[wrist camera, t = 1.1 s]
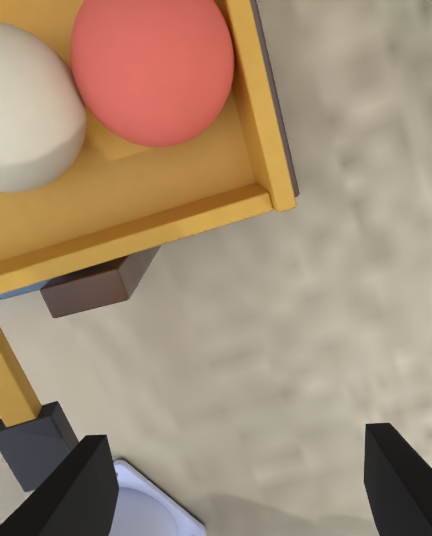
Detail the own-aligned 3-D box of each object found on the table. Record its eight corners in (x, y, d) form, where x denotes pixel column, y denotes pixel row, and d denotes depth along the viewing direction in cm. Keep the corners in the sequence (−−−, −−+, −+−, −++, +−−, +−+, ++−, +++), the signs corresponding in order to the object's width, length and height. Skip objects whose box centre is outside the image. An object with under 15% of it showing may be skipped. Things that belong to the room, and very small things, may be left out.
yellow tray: (193, -97, 11) (201, -216, 7) (305, 352, 16) (346, 423, 12) (-168, 18, 11) (-348, -40, 7) (51, 430, 16) (11, 524, 12)
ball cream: (23, 214, 12) (-1, 236, 8) (-98, 112, 10) (-185, 89, 7) (113, 125, 12) (125, 111, 8) (6, 13, 10) (-30, -58, 7)
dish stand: (232, -98, 15) (224, -346, 7) (297, 192, 19) (342, 254, 11) (31, -19, 16) (-178, -150, 8) (128, 239, 20) (52, 326, 12)
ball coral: (157, 172, 12) (150, 188, 8) (59, 69, 11) (5, 38, 7) (251, 81, 11) (285, 58, 8) (157, -38, 10) (149, -124, 7)
